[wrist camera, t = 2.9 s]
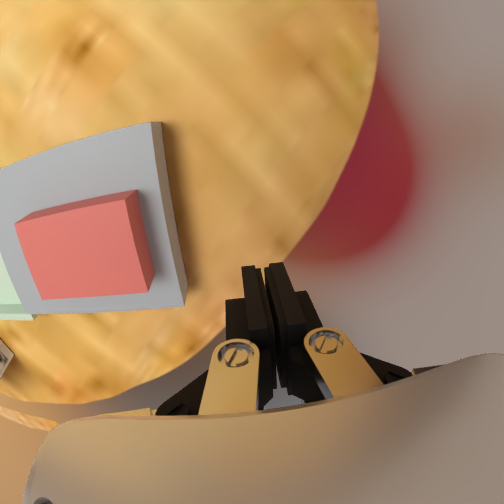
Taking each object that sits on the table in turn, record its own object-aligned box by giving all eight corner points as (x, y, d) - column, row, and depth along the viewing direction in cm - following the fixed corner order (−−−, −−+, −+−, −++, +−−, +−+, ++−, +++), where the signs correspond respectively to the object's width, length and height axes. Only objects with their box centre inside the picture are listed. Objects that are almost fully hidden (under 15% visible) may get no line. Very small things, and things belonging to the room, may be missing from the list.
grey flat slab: (0, 170, 17) (-20, 178, 14) (161, 121, 18) (150, 121, 15) (40, 296, 22) (26, 314, 20) (188, 284, 23) (184, 306, 21)
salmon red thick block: (31, 212, 16) (14, 223, 14) (136, 189, 16) (124, 199, 14) (55, 283, 19) (42, 299, 16) (155, 273, 19) (148, 292, 17)
